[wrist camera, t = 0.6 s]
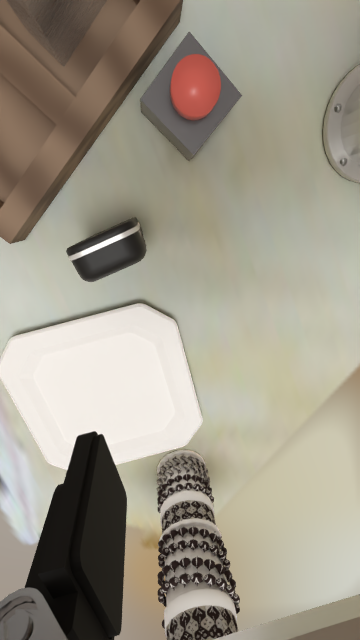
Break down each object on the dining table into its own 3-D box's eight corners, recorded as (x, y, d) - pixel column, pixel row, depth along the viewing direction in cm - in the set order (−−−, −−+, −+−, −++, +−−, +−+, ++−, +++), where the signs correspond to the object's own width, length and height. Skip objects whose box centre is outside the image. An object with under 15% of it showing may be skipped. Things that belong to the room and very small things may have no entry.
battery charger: (100, 267, 37) (80, 291, 27) (85, 239, 36) (58, 252, 25) (150, 245, 37) (151, 260, 26) (137, 215, 36) (132, 219, 25)
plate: (206, 431, 49) (208, 441, 47) (60, 470, 48) (56, 482, 46) (168, 291, 40) (169, 295, 37) (-11, 338, 39) (-20, 345, 37)
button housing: (184, 53, 30) (189, 31, 27) (231, 108, 33) (241, 95, 29) (141, 111, 32) (140, 99, 28) (188, 161, 34) (193, 155, 30)
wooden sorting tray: (47, -139, 25) (-42, -442, 13) (179, 21, 29) (199, -100, 18) (-106, 142, 31) (-263, 101, 19) (24, 239, 35) (-37, 255, 24)
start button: (192, 49, 26) (194, 40, 25) (226, 91, 27) (231, 84, 26) (160, 93, 27) (160, 86, 26) (194, 131, 28) (197, 127, 27)
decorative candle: (212, 481, 52) (263, 700, 29) (161, 493, 52) (171, 724, 29) (203, 442, 49) (252, 654, 26) (148, 455, 49) (148, 681, 25)
